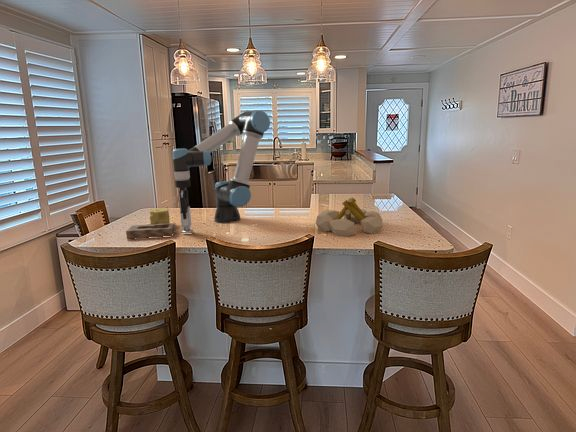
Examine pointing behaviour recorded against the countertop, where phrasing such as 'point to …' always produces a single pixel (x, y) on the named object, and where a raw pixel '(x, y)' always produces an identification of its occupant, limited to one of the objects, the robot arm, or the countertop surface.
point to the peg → (187, 227)
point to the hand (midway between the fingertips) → (186, 223)
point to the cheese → (159, 216)
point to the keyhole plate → (150, 230)
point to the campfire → (349, 220)
